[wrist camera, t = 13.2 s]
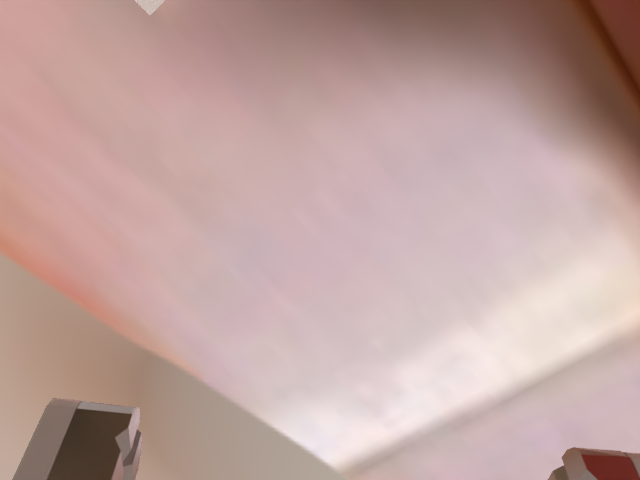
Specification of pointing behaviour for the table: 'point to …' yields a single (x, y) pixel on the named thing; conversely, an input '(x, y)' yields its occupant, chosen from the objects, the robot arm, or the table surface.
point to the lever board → (149, 5)
